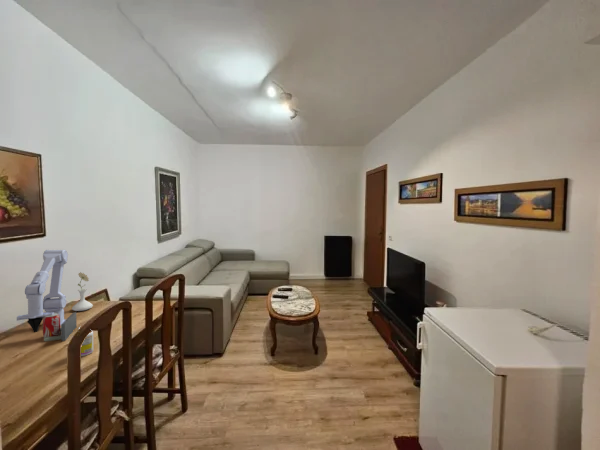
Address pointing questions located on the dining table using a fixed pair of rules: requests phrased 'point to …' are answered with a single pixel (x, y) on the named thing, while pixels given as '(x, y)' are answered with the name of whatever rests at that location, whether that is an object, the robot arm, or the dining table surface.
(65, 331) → the grey bookend
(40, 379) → the dining table surface
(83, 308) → the flower in vase
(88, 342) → the supplement bottle
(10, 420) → the dining table surface
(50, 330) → the soda can
